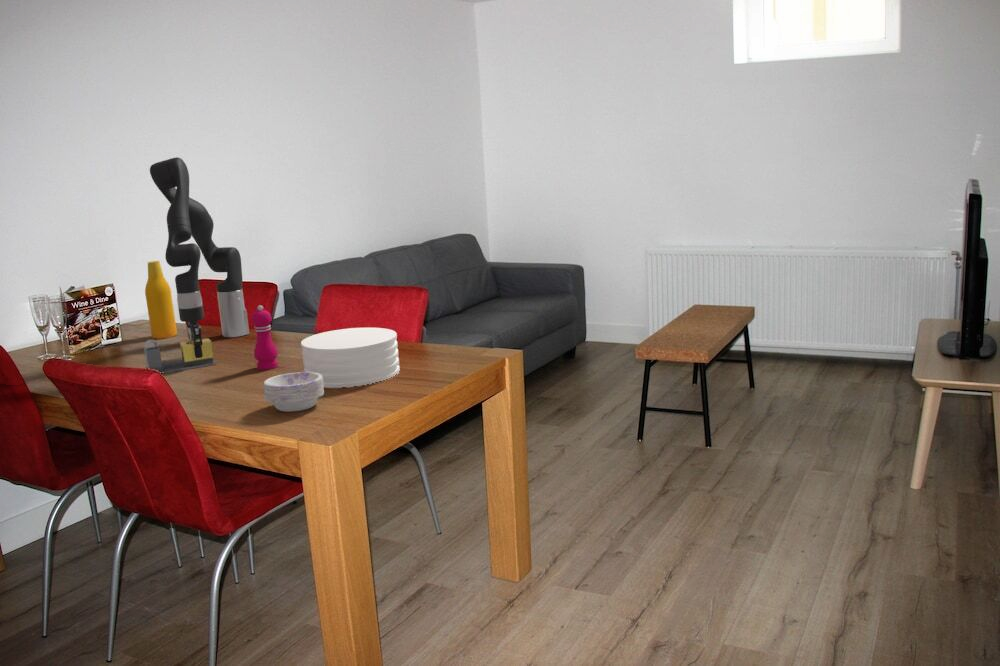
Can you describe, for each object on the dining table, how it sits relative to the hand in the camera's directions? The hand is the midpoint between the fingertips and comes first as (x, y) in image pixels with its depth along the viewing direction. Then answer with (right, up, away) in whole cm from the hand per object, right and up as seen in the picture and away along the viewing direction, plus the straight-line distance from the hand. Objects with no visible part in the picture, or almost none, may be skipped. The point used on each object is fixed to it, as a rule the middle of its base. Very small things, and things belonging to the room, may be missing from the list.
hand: (197, 355), depth 279 cm
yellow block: (0, -1, 0) cm, 1 cm away
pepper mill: (+26, -4, -11) cm, 28 cm away
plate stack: (+56, -5, -25) cm, 61 cm away
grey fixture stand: (-5, -3, -2) cm, 6 cm away
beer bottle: (-30, +6, +48) cm, 57 cm away
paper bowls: (+46, -12, -55) cm, 72 cm away
